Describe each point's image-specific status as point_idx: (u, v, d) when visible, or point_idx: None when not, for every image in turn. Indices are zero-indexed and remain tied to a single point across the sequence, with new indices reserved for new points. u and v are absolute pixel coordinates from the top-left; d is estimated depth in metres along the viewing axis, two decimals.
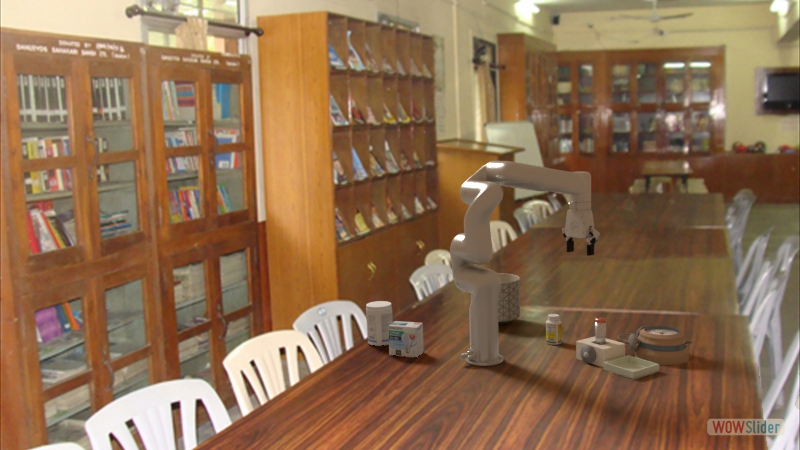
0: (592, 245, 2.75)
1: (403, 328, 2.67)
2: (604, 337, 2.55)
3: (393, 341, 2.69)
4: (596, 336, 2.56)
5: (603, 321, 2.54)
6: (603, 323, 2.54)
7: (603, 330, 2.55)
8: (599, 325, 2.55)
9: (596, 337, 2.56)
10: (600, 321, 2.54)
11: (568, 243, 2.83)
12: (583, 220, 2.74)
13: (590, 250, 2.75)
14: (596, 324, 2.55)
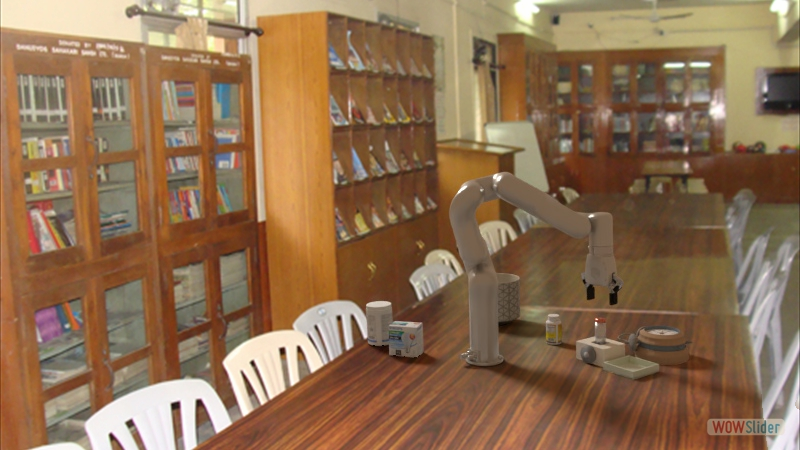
0: (615, 293, 2.50)
1: (403, 328, 2.67)
2: (604, 337, 2.55)
3: (393, 341, 2.69)
4: (596, 336, 2.56)
5: (603, 321, 2.54)
6: (603, 323, 2.54)
7: (603, 330, 2.55)
8: (599, 325, 2.55)
9: (596, 337, 2.56)
10: (600, 321, 2.54)
11: (588, 290, 2.58)
12: (605, 267, 2.49)
13: (613, 299, 2.50)
14: (596, 324, 2.55)
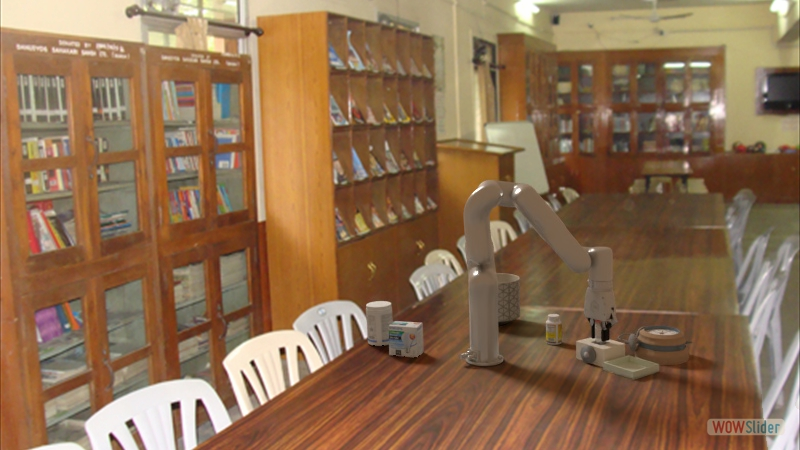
0: (607, 330, 2.54)
1: (403, 328, 2.67)
2: None
3: (393, 341, 2.69)
4: (596, 336, 2.56)
5: None
6: None
7: None
8: (599, 325, 2.55)
9: (596, 337, 2.56)
10: (600, 321, 2.54)
11: (593, 329, 2.57)
12: (604, 302, 2.50)
13: (605, 335, 2.54)
14: (596, 324, 2.55)
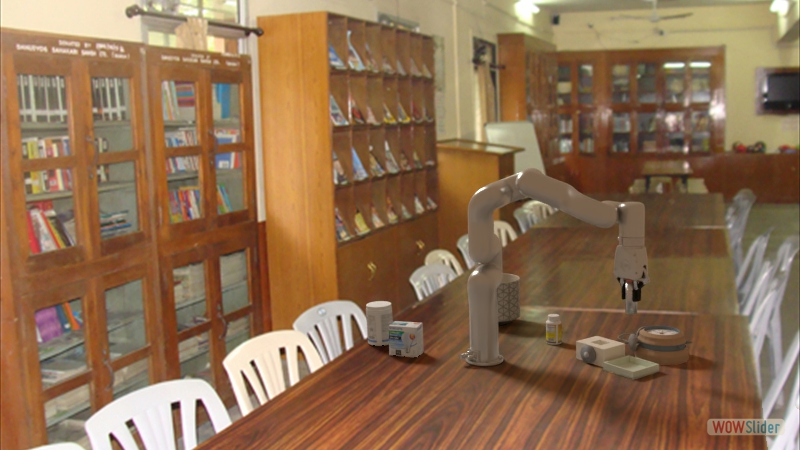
0: (639, 290, 2.40)
1: (403, 328, 2.67)
2: None
3: (393, 341, 2.69)
4: (627, 296, 2.42)
5: None
6: None
7: None
8: (630, 285, 2.41)
9: (627, 297, 2.42)
10: (632, 280, 2.40)
11: (623, 289, 2.43)
12: (636, 259, 2.36)
13: (637, 296, 2.40)
14: (627, 284, 2.41)
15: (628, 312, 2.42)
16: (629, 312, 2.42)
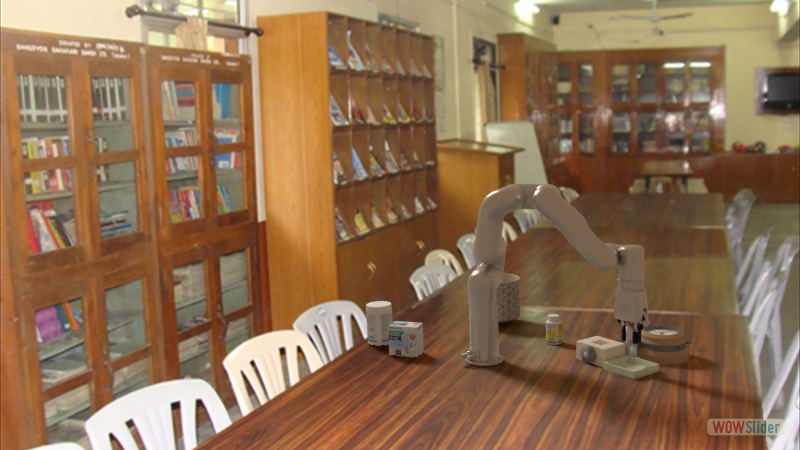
0: (639, 332, 2.42)
1: (403, 328, 2.67)
2: None
3: (393, 341, 2.69)
4: (627, 338, 2.44)
5: None
6: None
7: None
8: (630, 327, 2.42)
9: (627, 339, 2.44)
10: (632, 323, 2.42)
11: (624, 331, 2.45)
12: (636, 302, 2.38)
13: (637, 338, 2.42)
14: (627, 326, 2.43)
15: (628, 354, 2.44)
16: (629, 354, 2.44)
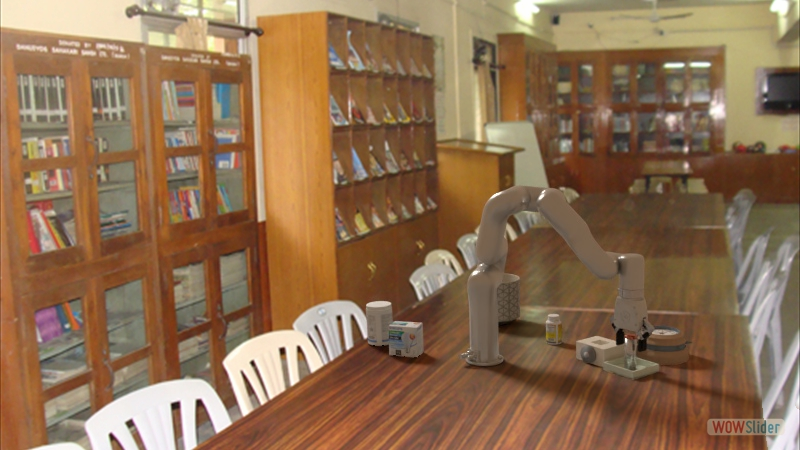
0: (644, 340, 2.40)
1: (403, 328, 2.67)
2: (635, 354, 2.44)
3: (393, 341, 2.69)
4: (626, 353, 2.45)
5: (634, 338, 2.43)
6: (634, 340, 2.43)
7: (633, 347, 2.43)
8: (630, 342, 2.43)
9: (626, 354, 2.45)
10: (631, 338, 2.43)
11: (618, 335, 2.47)
12: (636, 311, 2.39)
13: (642, 346, 2.40)
14: (626, 341, 2.44)
15: (627, 368, 2.45)
16: (628, 368, 2.45)
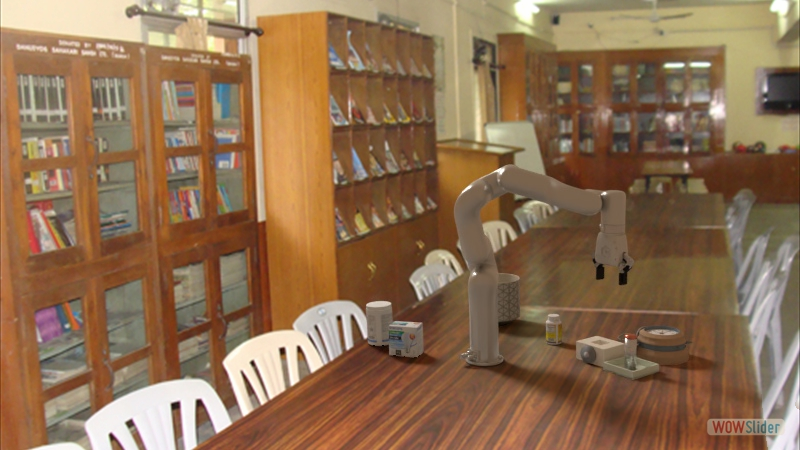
0: (625, 274, 2.45)
1: (403, 328, 2.67)
2: (635, 354, 2.44)
3: (393, 341, 2.69)
4: (626, 353, 2.45)
5: (634, 337, 2.43)
6: (634, 340, 2.43)
7: (633, 347, 2.43)
8: (630, 342, 2.43)
9: (626, 354, 2.45)
10: (631, 338, 2.43)
11: (598, 270, 2.53)
12: (616, 246, 2.44)
13: (623, 279, 2.45)
14: (626, 341, 2.44)
15: (627, 368, 2.45)
16: (628, 368, 2.45)
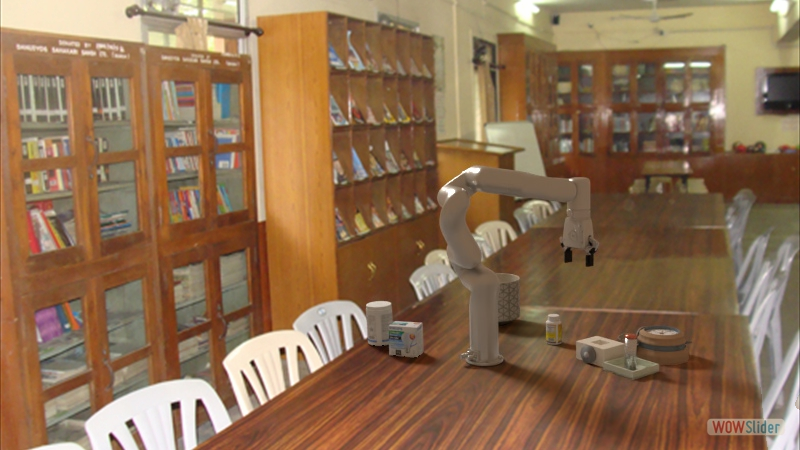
0: (591, 256, 2.59)
1: (403, 328, 2.67)
2: (635, 354, 2.44)
3: (393, 341, 2.69)
4: (626, 353, 2.45)
5: (634, 337, 2.43)
6: (634, 339, 2.43)
7: (633, 347, 2.44)
8: (630, 342, 2.43)
9: (626, 354, 2.45)
10: (631, 338, 2.43)
11: (566, 253, 2.67)
12: (582, 230, 2.58)
13: (589, 261, 2.59)
14: (627, 340, 2.44)
15: (627, 368, 2.45)
16: (628, 368, 2.45)
